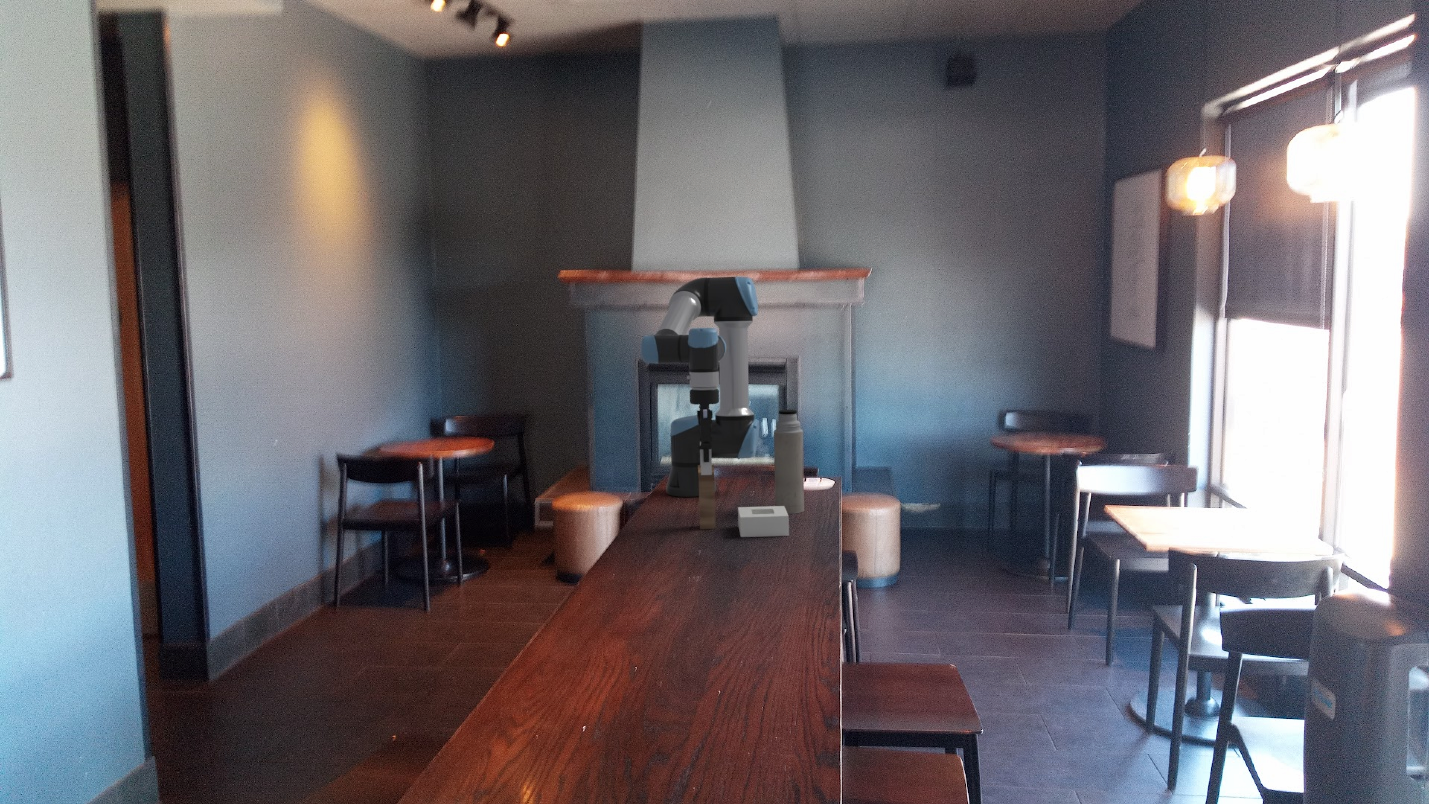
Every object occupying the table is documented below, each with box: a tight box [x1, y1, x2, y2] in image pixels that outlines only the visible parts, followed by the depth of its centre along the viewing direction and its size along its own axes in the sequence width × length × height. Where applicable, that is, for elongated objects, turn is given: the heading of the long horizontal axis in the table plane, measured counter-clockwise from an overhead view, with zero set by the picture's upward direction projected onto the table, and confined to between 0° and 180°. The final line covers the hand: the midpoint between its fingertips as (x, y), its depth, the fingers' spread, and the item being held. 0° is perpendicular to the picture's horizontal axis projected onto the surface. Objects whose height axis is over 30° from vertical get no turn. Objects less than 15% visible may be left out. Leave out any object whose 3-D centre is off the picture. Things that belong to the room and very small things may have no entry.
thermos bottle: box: [773, 409, 805, 515], centre depth 291 cm, size 8×8×28 cm
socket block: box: [737, 505, 790, 538], centre depth 269 cm, size 12×12×5 cm
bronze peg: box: [698, 464, 717, 530], centre depth 274 cm, size 4×4×16 cm
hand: (706, 470), depth 273 cm, fingers open, 13 cm apart
